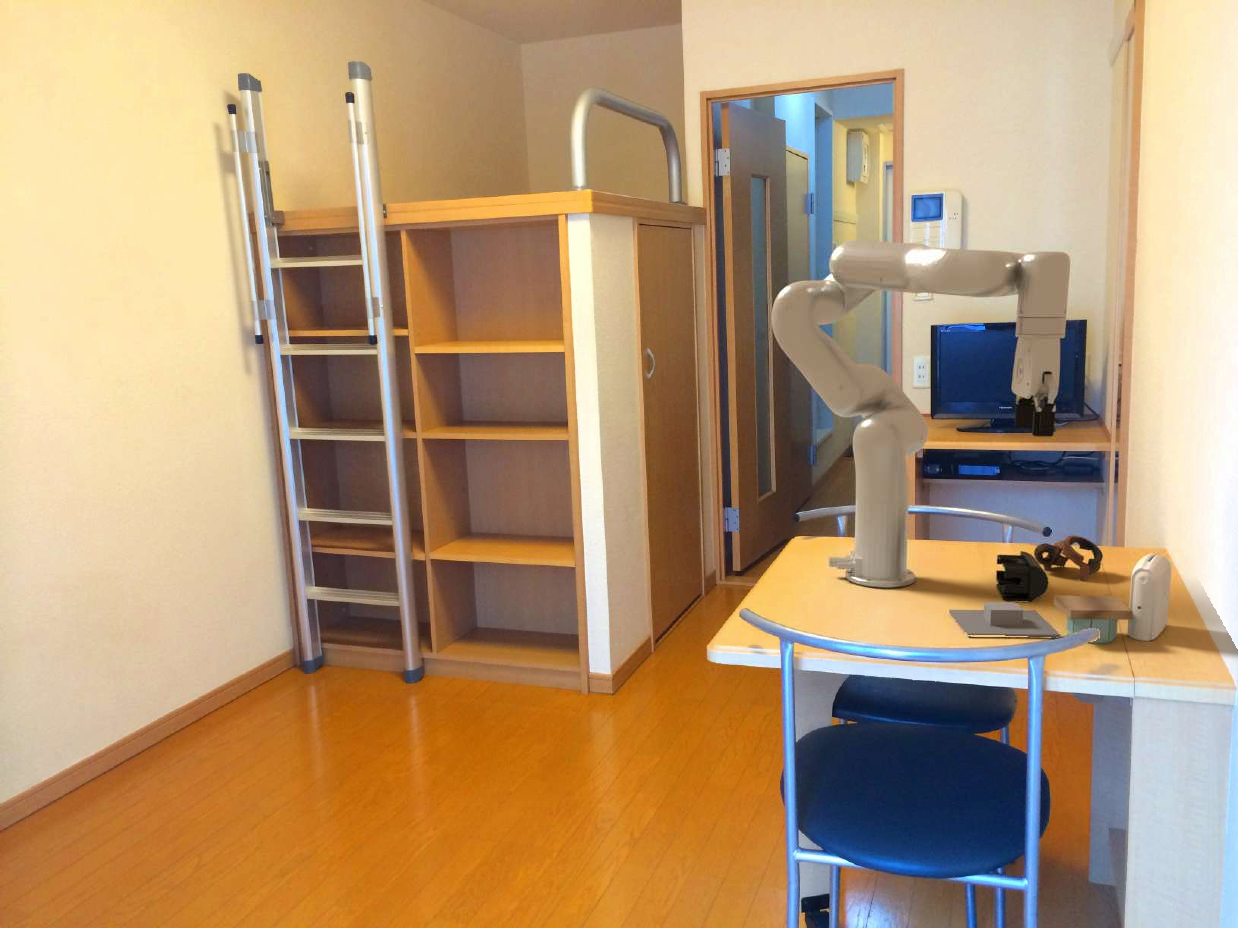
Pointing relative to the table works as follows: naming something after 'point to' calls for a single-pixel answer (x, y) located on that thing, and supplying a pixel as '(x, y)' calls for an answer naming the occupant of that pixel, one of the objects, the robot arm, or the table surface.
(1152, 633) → the photo printer
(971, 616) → the rubber mat
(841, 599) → the table surface
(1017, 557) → the end cap
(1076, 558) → the brown piece
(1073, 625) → the ceramic bowl
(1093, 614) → the walnut board
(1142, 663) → the table surface
